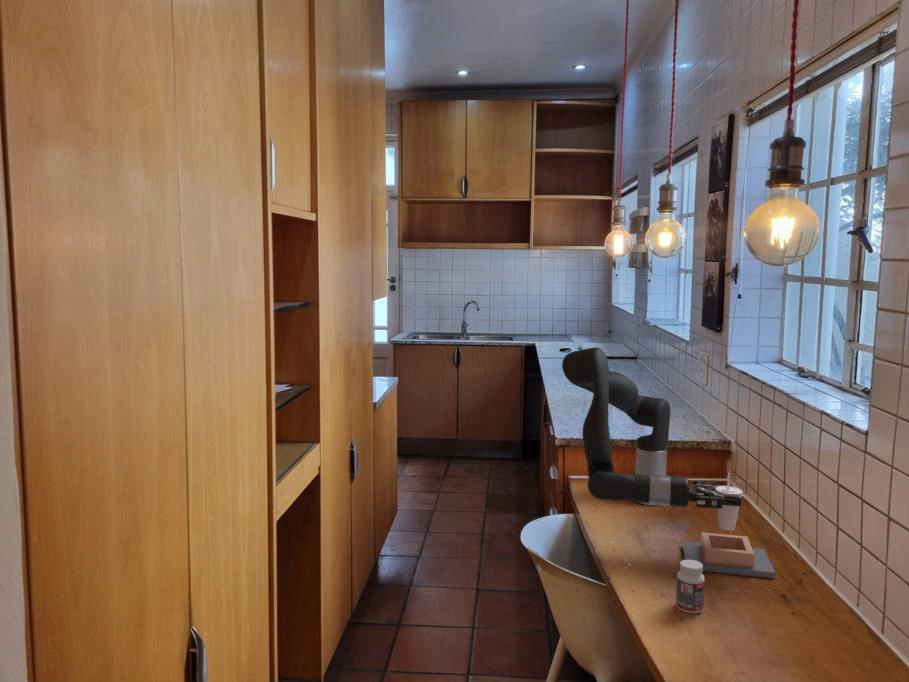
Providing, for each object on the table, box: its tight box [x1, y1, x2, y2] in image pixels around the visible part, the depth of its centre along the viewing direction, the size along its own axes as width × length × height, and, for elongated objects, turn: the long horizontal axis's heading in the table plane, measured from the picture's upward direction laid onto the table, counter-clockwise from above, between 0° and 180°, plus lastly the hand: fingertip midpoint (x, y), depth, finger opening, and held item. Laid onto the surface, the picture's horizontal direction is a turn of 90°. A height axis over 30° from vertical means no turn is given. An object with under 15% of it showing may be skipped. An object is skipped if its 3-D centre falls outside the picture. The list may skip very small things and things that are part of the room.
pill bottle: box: [675, 559, 706, 614], centre depth 147 cm, size 6×6×10 cm
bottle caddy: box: [682, 532, 776, 580], centre depth 170 cm, size 14×20×5 cm
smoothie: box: [715, 472, 744, 531], centre depth 168 cm, size 6×6×14 cm
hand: (738, 497), depth 168 cm, fingers closed on smoothie, 6 cm apart
